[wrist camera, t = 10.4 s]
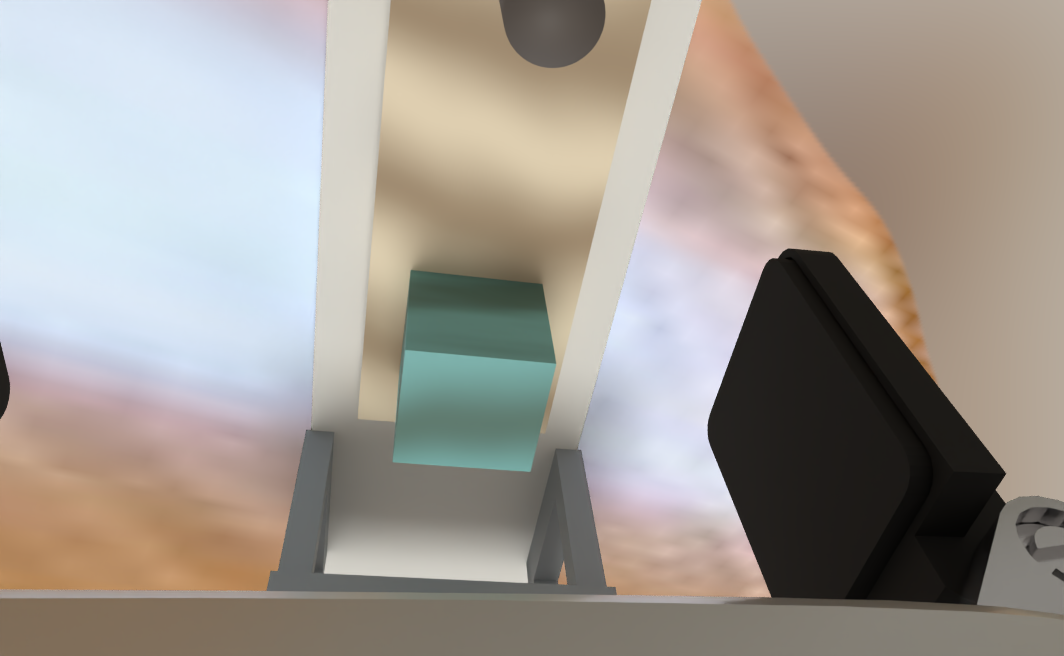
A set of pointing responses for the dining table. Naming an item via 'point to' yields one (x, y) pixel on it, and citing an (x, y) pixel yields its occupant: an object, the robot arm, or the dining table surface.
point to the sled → (487, 215)
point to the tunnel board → (367, 445)
